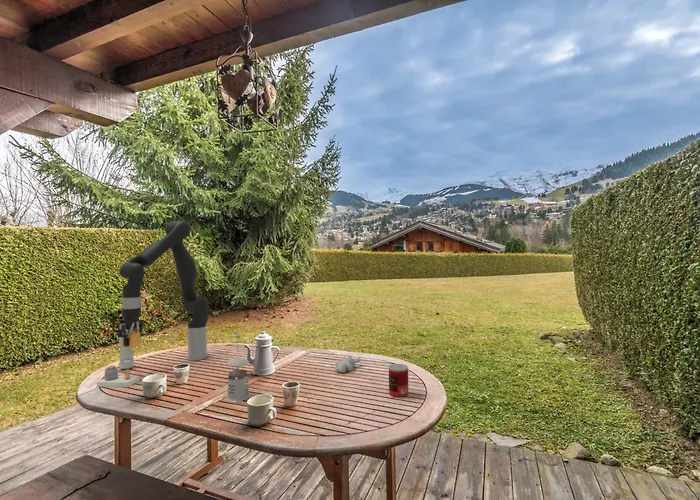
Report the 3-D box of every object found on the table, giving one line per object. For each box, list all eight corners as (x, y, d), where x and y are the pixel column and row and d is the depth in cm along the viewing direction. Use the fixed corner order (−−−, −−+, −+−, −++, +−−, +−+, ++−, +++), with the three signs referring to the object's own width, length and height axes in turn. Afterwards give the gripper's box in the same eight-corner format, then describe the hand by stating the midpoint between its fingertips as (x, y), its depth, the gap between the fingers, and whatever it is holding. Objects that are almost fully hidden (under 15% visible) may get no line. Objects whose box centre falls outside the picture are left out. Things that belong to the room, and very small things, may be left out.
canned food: (409, 391, 142) (409, 364, 143) (406, 399, 135) (406, 370, 135) (391, 389, 145) (391, 362, 145) (387, 396, 137) (386, 368, 137)
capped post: (110, 376, 158) (110, 365, 158) (120, 376, 157) (120, 365, 157) (102, 380, 153) (102, 368, 153) (112, 380, 153) (112, 368, 153)
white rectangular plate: (110, 379, 160) (110, 375, 160) (140, 380, 158) (140, 375, 158) (96, 386, 152) (96, 381, 152) (127, 387, 150) (127, 382, 150)
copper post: (127, 378, 156) (127, 369, 156) (130, 378, 156) (130, 369, 156) (124, 379, 154) (124, 370, 154) (128, 379, 154) (127, 370, 154)
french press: (227, 404, 132) (226, 338, 132) (222, 393, 143) (222, 332, 143) (253, 399, 137) (252, 335, 137) (247, 388, 147) (246, 329, 147)
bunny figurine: (330, 363, 167) (346, 352, 179) (330, 374, 167) (347, 361, 180) (347, 367, 162) (362, 354, 174) (347, 377, 162) (363, 364, 175)
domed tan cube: (129, 345, 162) (129, 329, 162) (139, 345, 161) (140, 330, 161) (121, 347, 157) (121, 332, 157) (132, 348, 156) (132, 332, 156)
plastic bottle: (137, 366, 178) (137, 327, 178) (128, 371, 171) (127, 330, 171) (125, 366, 178) (125, 327, 178) (115, 370, 172) (115, 330, 172)
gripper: (127, 309, 152) (127, 349, 151) (149, 305, 166) (149, 341, 166) (111, 309, 152) (111, 348, 152) (134, 304, 167) (134, 340, 166)
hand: (131, 344), depth 159 cm, fingers closed on domed tan cube, 5 cm apart
